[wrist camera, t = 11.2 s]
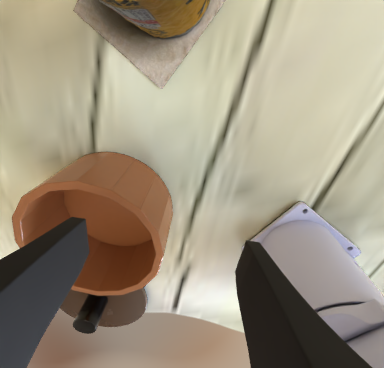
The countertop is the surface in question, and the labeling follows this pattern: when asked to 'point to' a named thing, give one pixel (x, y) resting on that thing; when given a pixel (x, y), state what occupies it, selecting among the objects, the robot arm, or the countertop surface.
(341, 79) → the countertop surface
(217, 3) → the condiment
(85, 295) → the pot lid
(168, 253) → the countertop surface
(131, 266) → the terracotta bowl
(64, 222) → the robot arm
